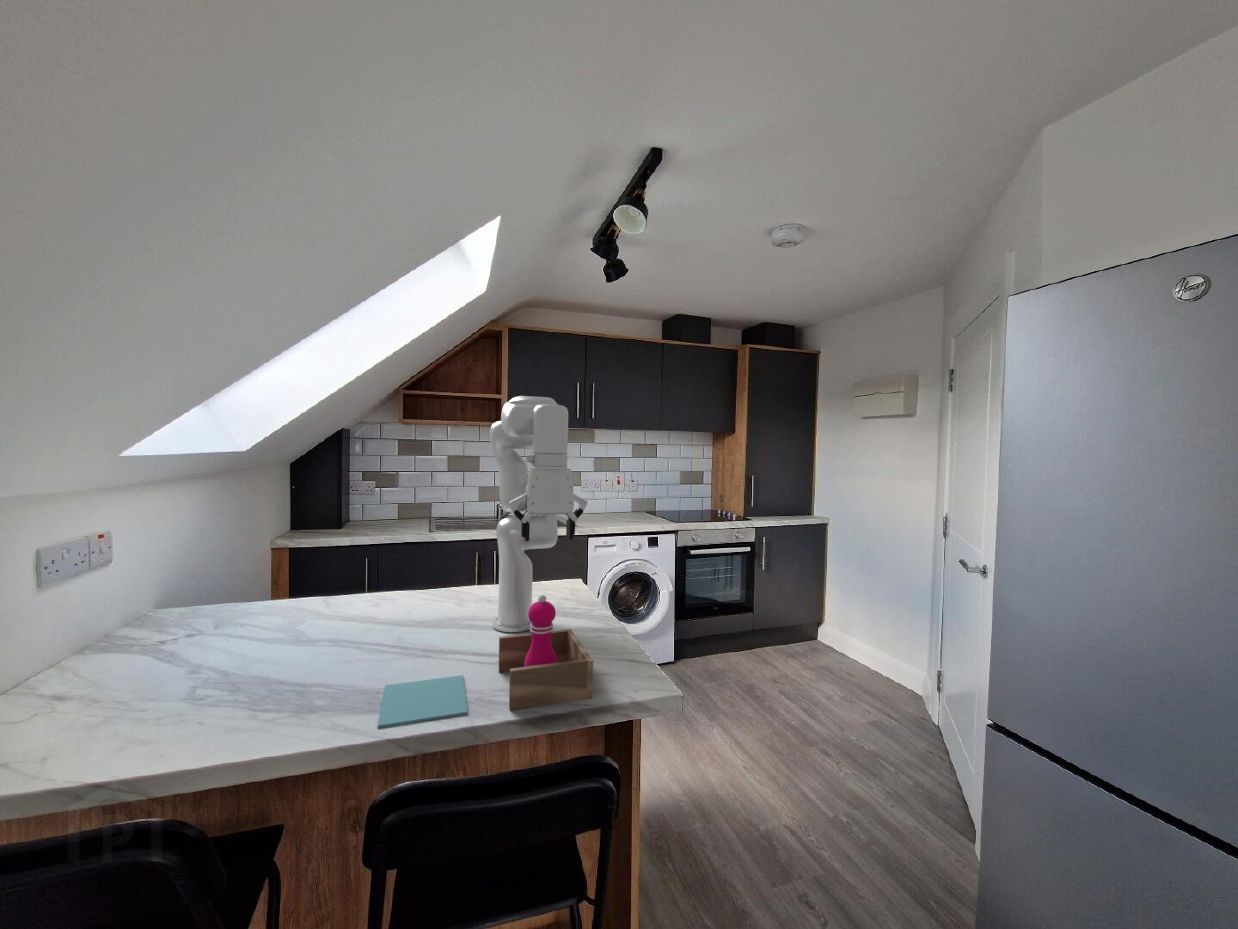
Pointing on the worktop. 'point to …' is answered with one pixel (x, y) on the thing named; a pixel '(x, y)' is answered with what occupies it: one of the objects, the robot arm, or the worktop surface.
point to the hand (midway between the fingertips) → (548, 539)
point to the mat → (422, 701)
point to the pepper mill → (541, 633)
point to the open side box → (546, 671)
